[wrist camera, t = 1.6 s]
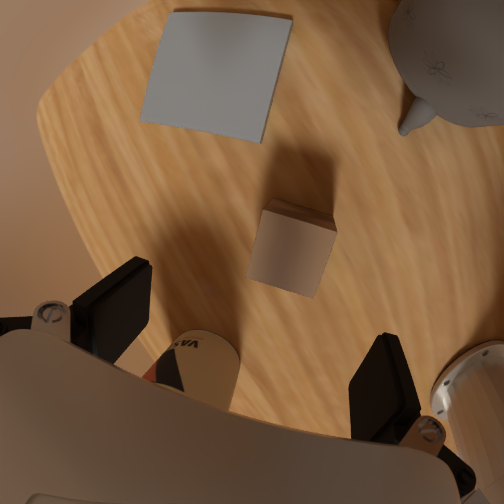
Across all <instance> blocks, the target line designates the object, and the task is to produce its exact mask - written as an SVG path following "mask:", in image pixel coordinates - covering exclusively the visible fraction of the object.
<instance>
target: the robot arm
mask: <svg viewBox="0 0 504 504" xmlns="http://www.w3.org/2000/svg"><path fill="white" fill-rule="evenodd" d="M151 279H152V266H151V265H149V261H148V260H145V259H143V258H140V257H137V256H135V257H133V258H132V259H131V260H129V261H128V262H126V263H125V264H123V265H122V266H120V267H119V268H118V269H116V270H115V271H113V272H112V273H110V274H109V275H108V276H106V277H105V278H103V279H102V280H101V281H99V282H98V283H97V284H95V285H94V286H92V287H91V288H90V289H88V290H87V291H86V292H84V293H83V294H82V295H80V296H79V297H78V298H76V299H75V300H73V304H72V305H71V306H69V307H68V306H67V305H66V304H64V303H63V302H60V301H46V302H43V303H41V304H40V305H38V306H37V307H36V308H35V310H34V313H33V316H27V317H7V318H0V504H504V341H490V342H485V343H483V344H480V345H478V346H476V347H474V348H472V349H470V350H469V351H467V352H466V353H464V354H463V355H461V356H460V357H459V358H457V359H456V360H455V361H454V362H453V363H452V364H451V365H450V366H449V367H448V368H447V369H446V370H445V371H444V372H443V373H442V375H441V376H440V377H439V379H438V380H437V382H436V383H435V385H434V387H433V390H432V392H431V396H430V405H431V408H432V411H433V413H434V415H435V416H436V417H438V418H440V419H443V420H448V421H449V424H450V427H451V431H452V434H453V437H454V441H455V444H456V448H457V452H458V456H459V457H458V456H457V455H456V454H454V453H453V452H452V451H451V450H449V449H448V448H447V447H446V446H445V445H444V442H445V439H446V431H445V429H444V427H443V425H442V424H441V423H440V422H439V421H438V420H437V419H435V418H434V417H431V416H421V414H420V410H421V406H420V402H419V399H418V395H417V392H416V389H415V386H414V382H413V379H412V376H411V373H410V370H409V367H408V364H407V361H406V358H405V355H404V352H403V349H402V346H401V344H400V341H399V338H398V336H397V335H394V334H390V333H386V332H384V333H383V334H382V335H378V336H377V338H376V339H375V341H374V343H373V345H372V346H371V348H370V350H369V352H368V353H367V355H366V357H365V358H364V360H363V362H362V363H361V365H360V367H359V368H358V370H357V371H356V373H355V375H354V376H353V378H352V379H351V381H350V383H349V388H348V390H349V405H350V422H351V439H348V438H342V437H336V436H330V435H324V434H319V433H313V432H308V431H304V430H299V429H294V428H290V427H286V426H282V425H277V424H273V423H270V422H266V421H262V420H258V419H255V418H251V417H248V416H244V415H241V414H237V413H234V412H231V411H228V410H225V409H221V408H218V407H215V406H212V405H210V404H207V403H204V402H201V401H198V400H195V399H193V398H190V397H187V396H185V395H182V394H180V393H177V392H174V391H172V390H169V389H167V388H164V387H162V386H160V385H157V384H155V383H153V382H150V381H148V380H146V379H143V378H141V377H139V376H137V375H135V374H133V373H130V372H128V371H126V370H124V369H122V368H120V367H117V366H116V365H114V363H115V362H116V360H117V359H118V358H119V357H120V356H121V355H122V353H123V352H124V351H125V350H126V349H127V347H128V346H129V345H130V344H131V343H132V342H133V341H134V340H135V338H136V337H137V336H138V335H139V334H140V333H141V331H142V330H143V329H144V328H145V327H146V325H147V324H148V321H149V308H150V292H151Z"/></svg>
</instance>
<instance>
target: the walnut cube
mask: <svg viewBox="0 0 504 504" xmlns="http://www.w3.org/2000/svg"><path fill="white" fill-rule="evenodd" d="M336 235H337V229H336V225H335V221H334V218H333V216H331V215H328V214H325V213H321V212H318V211H315V210H312V209H309V208H305V207H302V206H299V205H296V204H292V203H289V202H285V201H282V200H279V199H275V198H273V199H272V200H271V201H270V202H269V203H268V205H267V206H266V207H265V208H264V209H263V211H262V215H261V219H260V223H259V227H258V230H257V234H256V238H255V242H254V246H253V250H252V253H251V257H250V261H249V265H248V269H247V272H246V276H245V277H246V278H249V279H252V280H255V281H258V282H261V283H265V284H268V285H271V286H274V287H277V288H281V289H284V290H287V291H290V292H294V293H297V294H300V295H303V296H307V297H310V298H314V296H315V293H316V290H317V288H318V285H319V282H320V280H321V277H322V274H323V272H324V269H325V266H326V264H327V261H328V258H329V255H330V252H331V250H332V247H333V244H334V241H335V238H336Z"/></svg>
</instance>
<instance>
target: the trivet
mask: <svg viewBox="0 0 504 504" xmlns="http://www.w3.org/2000/svg"><path fill="white" fill-rule="evenodd" d="M292 26H293V21H292V20H288V19H282V18H275V17H268V16H260V15H251V14H240V13H224V12H170V14H169V17H168V19H167V22H166V25H165V28H164V31H163V34H162V37H161V40H160V43H159V47H158V50H157V53H156V57H155V60H154V64H153V67H152V71H151V75H150V78H149V82H148V86H147V90H146V94H145V99H144V103H143V107H142V112H141V117H140V121H139V122H147V123H154V124H161V125H168V126H174V127H181V128H187V129H192V130H198V131H203V132H209V133H214V134H219V135H224V136H228V137H233V138H238V139H242V140H246V141H251V142H255V143H259V144H262V140H263V136H264V132H265V128H266V124H267V120H268V116H269V112H270V109H271V105H272V101H273V97H274V93H275V89H276V86H277V82H278V78H279V74H280V70H281V67H282V63H283V59H284V56H285V52H286V48H287V44H288V41H289V37H290V33H291V30H292Z"/></svg>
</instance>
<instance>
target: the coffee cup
mask: <svg viewBox="0 0 504 504" xmlns="http://www.w3.org/2000/svg"><path fill="white" fill-rule="evenodd" d="M239 369H240V361H239V357H238V354H237V352H236V351H235V349H234V348H233V347H232V346H231V345H230V344H229V343H228V342H227V341H226V340H225V339H223V338H222V337H220V336H218V335H216V334H214V333H212V332H209V331H204V330H191V331H187V332H185V333H183V334H182V335H180V336H179V337H178V338H177V339H176V340H175V341H174V342H173V343H172V344H171V345H170V346H169V348H168V349H167V350H166V351H165V352H164V353H163V354H162V355H161V356H160V358H159V359H158V360H157V361H156V362H155V363H154V364H153V365H152V367H151V368H150V369H149V370H148V371H147V372H146V373H145V374H144V375H143V377H142V378H143V379H146V380H148V381H150V382H153V383H155V384H157V385H160V386H162V387H164V388H167V389H169V390H172V391H174V392H177V393H180V394H182V395H185V396H187V397H190V398H193V399H195V400H198V401H201V402H204V403H207V404H210V405H212V406H215V407H218V408H221V409H225V410H228V411H229V408H230V404H231V400H232V397H233V393H234V389H235V386H236V382H237V378H238V374H239Z"/></svg>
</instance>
